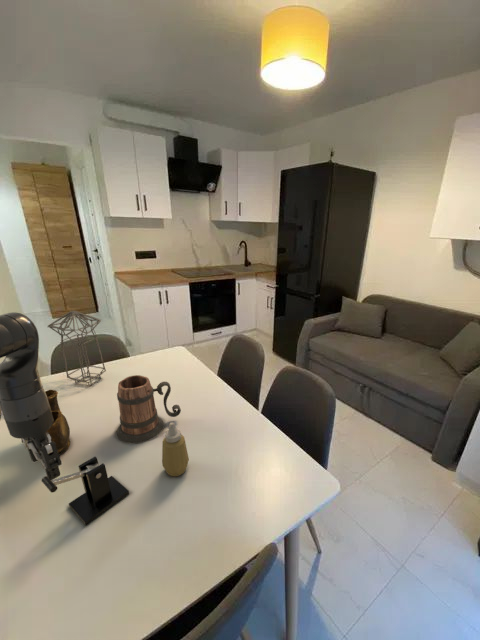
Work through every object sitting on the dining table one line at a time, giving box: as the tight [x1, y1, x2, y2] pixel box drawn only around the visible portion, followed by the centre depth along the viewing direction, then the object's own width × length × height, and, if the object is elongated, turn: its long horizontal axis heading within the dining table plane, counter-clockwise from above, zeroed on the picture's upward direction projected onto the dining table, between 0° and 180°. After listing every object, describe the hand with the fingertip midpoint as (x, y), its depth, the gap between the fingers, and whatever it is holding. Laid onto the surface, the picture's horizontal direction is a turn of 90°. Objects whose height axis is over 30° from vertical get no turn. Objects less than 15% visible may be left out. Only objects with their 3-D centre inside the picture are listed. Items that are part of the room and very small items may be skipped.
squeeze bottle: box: [161, 421, 190, 477], centre depth 88 cm, size 8×8×18 cm
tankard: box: [115, 374, 182, 444], centre depth 107 cm, size 24×17×20 cm
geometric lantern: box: [47, 310, 107, 387], centre depth 132 cm, size 16×16×35 cm
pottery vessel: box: [44, 389, 71, 456], centre depth 94 cm, size 25×11×20 cm, turn 37°
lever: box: [41, 462, 100, 493], centre depth 72 cm, size 12×5×2 cm, turn 146°
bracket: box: [68, 456, 130, 526], centre depth 78 cm, size 12×9×13 cm
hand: (46, 468), depth 66 cm, fingers open, 8 cm apart
